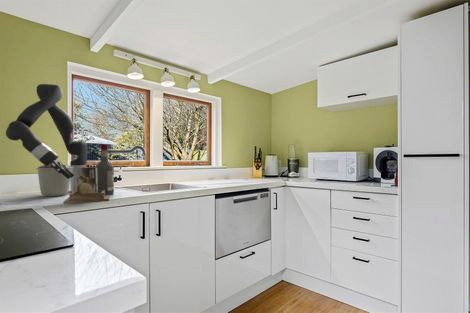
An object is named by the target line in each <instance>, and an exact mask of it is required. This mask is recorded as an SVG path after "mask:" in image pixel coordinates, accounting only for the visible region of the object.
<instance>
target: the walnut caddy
mask: <svg viewBox="0 0 470 313" xmlns="http://www.w3.org/2000/svg"><path fill="white" fill-rule="evenodd" d="M68 196H69V197H67V198H66V199H65V200H63V204H74V203H75V204H77V203H92V202H95V203H96V202H108V201H110V197H111V195H105V190H99V191H98V193H84V194H77V192H70V193H69V195H68Z"/></svg>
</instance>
